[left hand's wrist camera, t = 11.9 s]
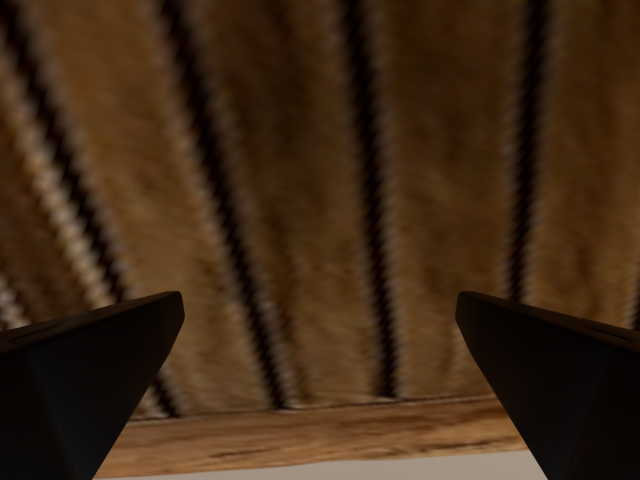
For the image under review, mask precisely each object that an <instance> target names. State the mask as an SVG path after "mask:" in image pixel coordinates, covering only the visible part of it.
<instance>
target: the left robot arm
mask: <svg viewBox="0 0 640 480" xmlns="http://www.w3.org/2000/svg"><path fill="white" fill-rule="evenodd" d="M184 318H185V312H184V306H183V300H182V295H181V293H180V292H179V291H166V292H162V293H158V294H154V295H150V296H146V297H142V298H138V299H134V300H130V301H126V302H122V303H118V304H114V305H110V306H106V307H102V308H98V309H94V310H90V311H86V312H82V313H78V314H74V315H70V316H66V317H62V318H60V319H59V318H57V319H52V320H48V321H44V322H40V323H36V324H32V325H28V326H24V327H19V328H15V329H11V330H6V331H2V332H0V480H92V479H93V477H94V476H95V474H96V472H97V471H98V469H99V467H100V466H101V464H102V463H103V461H104V459H105V458H106V456H107V454H108V453H109V451H110V450H111V448H112V446H113V445H114V443H115V441H116V440H117V438H118V437H119V435H120V433H121V432H122V430H123V428H124V427H125V425H126V424H127V422H128V420H129V419H130V417H131V415H132V414H133V412H134V411H135V409H136V407H137V406H138V404H139V402H140V401H141V399H142V397H143V396H144V394H145V393H146V391H147V389H148V388H149V386H150V384H151V383H152V381H153V380H154V378H155V376H156V375H157V373H158V371H159V370H160V368H161V367H162V365H163V363H164V362H165V360H166V358H167V357H168V355H169V353H170V351H171V349H172V347H173V344H174V342H175V340H176V338H177V336H178V333H179V331H180V329H181V327H182V324H183V322H184ZM455 318H456V322H457V324H458V327H459V329H460V331H461V333H462V336H463V338H464V340H465V342H466V344H467V347H468V349H469V351H470V353H471V355H472V357H473V358H474V360H475V362H476V363H477V365H478V367H479V368H480V370H481V371H482V373H483V375H484V376H485V378H486V380H487V381H488V383H489V384H490V386H491V388H492V389H493V391H494V393H495V394H496V396H497V397H498V399H499V401H500V402H501V404H502V406H503V407H504V409H505V410H506V412H507V414H508V415H509V417H510V419H511V420H512V422H513V424H514V425H515V427H516V428H517V430H518V432H519V433H520V435H521V437H522V438H523V440H524V441H525V443H526V445H527V446H528V448H529V450H530V451H531V453H532V454H533V456H534V458H535V459H536V461H537V463H538V464H539V466H540V467H541V469H542V471H543V472H544V474H545V476H546V477H547V479H548V480H640V332H638V331H634V330H629V329H625V328H621V327H616V326H612V325H608V324H604V323H600V322H596V321H592V320H588V319H583V318H581V319H580V318H578V317H574V316H570V315H566V314H562V313H558V312H554V311H550V310H546V309H542V308H538V307H534V306H530V305H526V304H522V303H518V302H514V301H510V300H506V299H502V298H498V297H494V296H490V295H486V294H482V293H478V292H474V291H461V292H460V293H459V295H458V300H457V306H456V312H455Z"/></svg>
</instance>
